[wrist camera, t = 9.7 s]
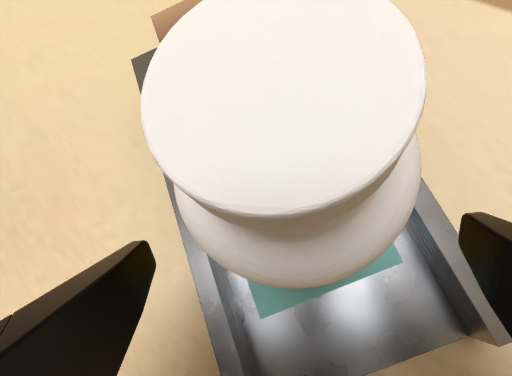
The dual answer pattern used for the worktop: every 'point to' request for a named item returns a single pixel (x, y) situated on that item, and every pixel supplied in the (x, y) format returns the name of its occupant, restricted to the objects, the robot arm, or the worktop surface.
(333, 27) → the supplement bottle
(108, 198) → the worktop surface
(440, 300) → the shallow metal tray
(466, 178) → the worktop surface
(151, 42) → the worktop surface
